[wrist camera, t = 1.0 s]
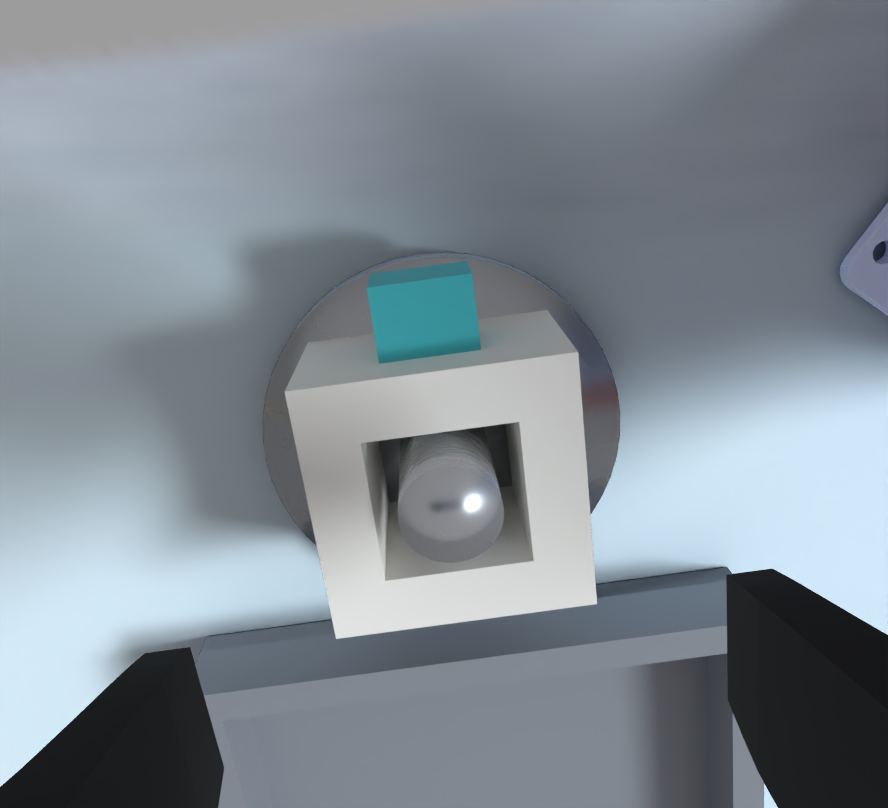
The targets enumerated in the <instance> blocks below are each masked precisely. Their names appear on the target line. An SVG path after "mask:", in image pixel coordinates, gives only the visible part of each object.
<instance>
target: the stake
mask: <svg viewBox="0 0 888 808" xmlns="http://www.w3.org/2000/svg"><path fill="white" fill-rule="evenodd" d="M460 261H467V263H468V265H469V267H470V270H471V272H472V278H473V286H474V294H475V303H476V311H477V319H483V318H491V317H498V316H506V315H513V314H520V313H528V312H535V311H542V310H547V311H548V312H549V313H550V315H551V316H552V317H553V319H554V320H555V321H556V323H557V324H558V325H559V327H560V328H561V329H562V331H563V332H564V333H565V335H566V336H567V337H568V339H569V340H570V342H571V343H572V344H573V346H574V347H575V348H576V350H577V351H578V355H579V369H580V382H581V395H582V409H583V422H584V435H585V449H586V462H587V475H588V489H589V502H590V515H591V513H592V511H593V510H594V508H595V507H596V505H597V503H598V502H599V500H600V498H601V497H602V495H603V492H604V490H605V488H606V486H607V483H608V481H609V479H610V477H611V473H612V470H613V466H614V463H615V460H616V456H617V450H618V443H619V436H620V409H619V401H618V394H617V389H616V385H615V382H614V378H613V374H612V371H611V368H610V366H609V364H608V361H607V359H606V357H605V354H604V352H603V350H602V348H601V347H600V345H599V343H598V342H597V340H596V338H595V337H594V335H593V334H592V332H591V330H590V329H589V328H588V327H587V326H586V324H585V323H584V322H583V321H582V320H581V318H580V317H579V316H578V315H577V314H576V312H575V311H574V310H573V309H572V308H571V307H570V306H569V304H567V303H566V302H565V301H564V300H563V299H562V298H561V297H560V296H559V295H558V294H556V293H555V292H554V291H553V290H552V289H551V288H549V287H548V286H546V285H545V284H543V283H542V282H540V281H539V280H537V279H536V278H534V277H533V276H531V275H529V274H527V273H525V272H523V271H521V270H519V269H517V268H515V267H513V266H511V265H508V264H505V263H502V262H499V261H496V260H493V259H490V258H485V257H480V256H475V255H470V254H463V253H447V252H438V253H423V254H415V255H410V256H405V257H400V258H395V259H392V260H389V261H386V262H383V263H380V264H378V265H375V266H372V267H370V268H368V269H366V270H364V271H362V272H360V273H358V274H356V275H354V276H352V277H350V278H348V279H347V280H345V281H344V282H343V283H341V284H340V285H338V286H337V287H335V288H334V289H332V290H331V291H330V292H329V293H328V294H326V295H325V296H324V297H323V298H322V299H321V300H320V301H319V302H318V303H317V304H315V305H314V306H313V307H312V309H311V310H310V311H309V312H308V313H307V315H306V316H305V317H304V318H303V319H302V321H301V322H300V323H299V324H298V326H297V327H296V329H295V331H294V332H293V334H292V335H291V337H290V339H289V340H288V342H287V343H286V345H285V347H284V349H283V350H282V352H281V354H280V357H279V359H278V361H277V363H276V366H275V368H274V370H273V372H272V375H271V379H270V382H269V386H268V389H267V393H266V398H265V405H264V413H263V442H264V449H265V455H266V461H267V465H268V468H269V472H270V475H271V478H272V482H273V484H274V486H275V488H276V490H277V493H278V495H279V497H280V499H281V501H282V503H283V505H284V506H285V508H286V509H287V511H288V513H289V514H290V516H291V517H292V519H293V520H294V521H295V523H296V524H297V525H298V526H299V527H300V529H301V530H302V531H303V532H304V533H305V535H306V536H307V537H308V538H309V539H310V540H311V541H313V542H314V543H315V544H316V540H315V536H314V531H313V526H312V521H311V516H310V512H309V507H308V502H307V497H306V493H305V488H304V483H303V478H302V473H301V469H300V464H299V459H298V454H297V449H296V445H295V440H294V435H293V430H292V425H291V421H290V416H289V411H288V406H287V401H286V397H285V390H286V388H287V386H288V383H289V381H290V379H291V377H292V375H293V373H294V371H295V369H296V367H297V365H298V362H299V360H300V358H301V356H302V354H303V352H304V350H305V348H306V346H307V344H308V342H315V341H322V340H329V339H337V338H344V337H351V336H359V335H366V334H373V333H374V331H373V325H372V318H371V312H370V306H369V300H368V294H367V284H368V280H369V277H370V274H372V273H380V272H387V271H394V270H402V269H409V268H416V267H424V266H431V265H438V264H446V263H453V262H460ZM379 444H380V450H381V455H382V461H383V467H384V473H385V479H386V485H387V491H388V497H389V502H396V501H398V524H399V528H400V531H401V533H402V536H403V537H404V539H405V541H406V542H407V543H408V545H409V546H410V547H411V548H412V549H413V550H414V551H416V552H417V553H418V554H420V555H422V556H424V557H426V558H428V559H430V560H434V561H437V562H444V563H455V562H462V561H466V560H469V559H472V558H474V557H476V556H478V555H480V554H482V553H483V552H484V551H486V550H487V549H488V548H489V547H490V546H491V545H492V544H493V543H494V542H495V540H496V539H497V537H498V535H499V534H500V531H501V529H502V526H503V522H504V506H503V502H502V497H501V493H500V489H499V488H500V487H508V486H512V477H511V468H510V459H509V450H508V441H507V432H506V424H500V425H493V426H485V427H478V428H470V429H463V430H456V431H448V432H441V433H433V434H426V435H419V436H411V437H404V438H397V439H389V440H382V441H379Z"/></svg>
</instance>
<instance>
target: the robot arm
mask: <svg viewBox="0 0 888 808" xmlns="http://www.w3.org/2000/svg"><path fill="white" fill-rule="evenodd" d="M882 241H884V243H885V244H886V251H885V253H884V255H883V257H881V258H880V259H879V260H877V261H875V260H874V259H873V250H874V248H875V246H876V245H878V244H879V243H880V242H882ZM840 277H841V281H842V282H843V283H844V285H845V286H846V287H847V288H849V289H850V290H852V291H853V292H854V293H856V294H857V295H859V296H860V297H862V298H863V299H864V300H866V301H867V302H869V303H870V304H871V305H873V306H874V307H876V308H877V309H879V310H880V311H881V312H883V313H884V314H886V315H887V316H888V203H887V204H886V205H885V207H884V208H883V209H882V210H881V212H880V213H879V214H878V216H877V217H876V218H875V219H874V221H873V222H872V223H871V225H870V226H869V227H868V228H867V230H866V231H865V232H864V234H863V235H862V236H861V237H860V239H859V240H858V241H857V243H856V244H855V245H854V246H853V248H852V249H851V250H850V252H849V253H848V254H847V255H846V257H845V258H844V260H843V262H842V264H841V267H840ZM726 588H727V676H728V702H729V704H730V707H731V709H732V712H733V714H734V717H735V719H736V722H737V724H738V726H739V729H740V731H741V734H742V736H743V739H744V741H745V743H746V746H747V748H748V750H749V752H750V755H751V757H752V759H753V762H754V764H755V766H756V768H757V771H758V773H759V774H760V776H761V778H762V780H763V782H764V784H765V785H766V787H767V789H768V791H769V792H770V794H771V796H772V798H773V800H774V801H775V803H776V805H777V807H778V808H888V635H887V634H885V633H883V632H881V631H880V630H878V629H876V628H874V627H873V626H871V625H869V624H868V623H866V622H864V621H862V620H861V619H859V618H857V617H856V616H854V615H852V614H850V613H849V612H847V611H845V610H844V609H842V608H840V607H839V606H837V605H835V604H833V603H832V602H830V601H828V600H827V599H825V598H823V597H822V596H820V595H818V594H816V593H815V592H813V591H811V590H810V589H808V588H806V587H804V586H803V585H801V584H799V583H798V582H796V581H794V580H792V579H790V578H789V577H787V576H785V575H783V574H781V573H779V572H777V571H776V570H774V569H767V570H759V571H752V572H744V573H737V574H730V575H726ZM223 773H224V765H223V761H222V758H221V754H220V751H219V747H218V744H217V740H216V737H215V733H214V730H213V726H212V723H211V719H210V716H209V712H208V709H207V705H206V701H205V698H204V694H203V691H202V687H201V684H200V680H199V677H198V673H197V670H196V666H195V663H194V659H193V656H192V652H191V649H190V647H188V648H181V649H174V650H166V651H159V652H151V653H145V654H144V655H143V656H141V657H140V658H139V659H138V660H137V661H135V662H134V663H133V664H132V665H131V666H130V667H129V668H128V669H126V670H125V671H124V672H123V673H122V674H121V675H120V676H119V677H118V678H117V679H116V680H115V681H113V682H112V683H111V684H110V685H109V686H108V687H107V688H106V689H105V690H104V691H103V692H102V693H101V694H100V695H99V696H98V697H97V698H96V699H95V700H94V701H92V702H91V703H90V704H89V705H88V706H87V707H86V708H85V709H84V710H83V711H82V712H81V713H80V714H79V715H78V716H77V717H76V718H75V719H74V720H73V721H72V722H70V723H69V724H68V725H67V726H66V727H65V728H64V729H63V730H62V731H61V732H60V733H59V734H58V735H57V736H56V737H55V738H54V739H52V740H51V741H50V742H49V743H48V744H47V745H46V746H45V747H44V748H43V749H42V750H41V751H40V752H39V753H38V754H37V755H35V756H34V757H33V758H32V759H31V760H30V761H29V762H28V763H27V764H26V765H25V766H24V767H23V768H22V769H20V770H19V771H18V772H17V773H16V774H15V775H14V776H12V777H11V778H10V779H9V780H8V781H7V782H6V783H4V784H3V785H2V786H1V787H0V808H218V806H219V799H220V793H221V786H222V780H223Z"/></svg>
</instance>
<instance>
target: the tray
mask: <svg viewBox="0 0 888 808" xmlns="http://www.w3.org/2000/svg"><path fill="white" fill-rule="evenodd" d="M730 574H732V573H731V572H730V570H729V569H728V568H727V567H724V568H717V569H710V570H702V571H695V572H687V573H680V574H672V575H665V576H657V577H650V578H642V579H635V580H628V581H620V582H613V583H605V584H598V585H596V595H597V604H594V605H586V606H579V607H571V608H564V609H556V610H549V611H541V612H534V613H526V614H519V615H512V616H504V617H497V618H489V619H482V620H474V621H467V622H459V623H452V624H444V625H437V626H429V627H422V628H414V629H407V630H400V631H392V632H385V633H377V634H370V635H362V636H355V637H347V638H340V639H336V636H335V632H334V627H333V622H332V620H329V621H322V622H314V623H307V624H300V625H292V626H285V627H277V628H270V629H262V630H255V631H247V632H240V633H232V634H225V635H217V636H210V637H206V640H205V642H204V645H203V647H202V650H201V652H200V654H199V657H198V659H197V662H196V664H195V666H196V670H197V673H198V677H199V680H200V684H201V687H202V691H203V694H204V698H205V701H206V705H207V709H208V712H209V716H210V719H211V723H212V726H213V730H214V733H215V737H216V740H217V744H218V747H219V751H220V754H221V758H222V761H223V765H224V773H223V780H222V786H221V793H220V799H219V806H218V808H764V782H763V780H762V778H761V776H760V774H759V773H758V771H757V768H756V766H755V764H754V762H753V759H752V757H751V755H750V752H749V750H748V748H747V746H746V743H745V741H744V739H743V736H742V734H741V731H740V729H739V726H738V724H737V722H736V719H735V717H734V714H733V712H732V709H731V707H730V704H729V702H728V676H727V588H726V575H730Z"/></svg>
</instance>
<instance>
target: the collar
mask: <svg viewBox="0 0 888 808" xmlns="http://www.w3.org/2000/svg"><path fill="white" fill-rule="evenodd" d="M367 294H368V300H369V306H370V312H371V318H372V325H373V331H374V333H373V334H366V335H359V336H351V337H344V338H337V339H329V340H322V341H315V342H308V344H307V346H306V348H305V350H304V352H303V354H302V356H301V358H300V360H299V362H298V365H297V367H296V369H295V371H294V373H293V375H292V377H291V379H290V381H289V383H288V386H287V388H286V390H285V397H286V401H287V406H288V411H289V416H290V421H291V425H292V430H293V435H294V440H295V445H296V449H297V454H298V459H299V464H300V469H301V473H302V478H303V483H304V488H305V493H306V497H307V502H308V507H309V512H310V516H311V521H312V526H313V531H314V536H315V540H316V545H317V550H318V555H319V560H320V564H321V569H322V574H323V579H324V584H325V588H326V593H327V598H328V603H329V608H330V612H331V617H332V622H333V627H334V632H335V636H336V639H340V638H347V637H355V636H362V635H370V634H377V633H385V632H392V631H400V630H407V629H414V628H422V627H429V626H437V625H444V624H452V623H459V622H467V621H474V620H482V619H489V618H497V617H504V616H512V615H519V614H526V613H534V612H541V611H549V610H556V609H564V608H571V607H579V606H586V605H594V604H597V595H596V582H595V568H594V555H593V542H592V528H591V515H590V502H589V489H588V475H587V462H586V449H585V435H584V422H583V409H582V395H581V382H580V369H579V355H578V351H577V350H576V348H575V347H574V346H573V344H572V343H571V342H570V340H569V339H568V337H567V336H566V335H565V333H564V332H563V331H562V329H561V328H560V327H559V325H558V324H557V323H556V321H555V320H554V319H553V317H552V316H551V315H550V313H549V312H548V311H547V310H542V311H535V312H528V313H520V314H513V315H506V316H498V317H491V318H483V319H477V311H476V303H475V294H474V286H473V278H472V272H471V270H470V267H469V265H468V263H467V261H460V262H453V263H446V264H438V265H431V266H424V267H416V268H409V269H402V270H394V271H387V272H380V273H372V274H370V277H369V280H368V284H367ZM500 424H506V432H507V441H508V450H509V459H510V468H511V477H512V486H508V487H500V488H499V489H500V493H501V497H502V502H503V506H504V522H503V526H502V529H501V531H500V534H499V535H498V537H497V539H496V540H495V542H494V543H493V544H492V545H491V546H490V547H489V548H488V549H487V550H486V551H484V552H483V553H482V554H480V555H478V556H476V557H474V558H472V559H469V560H466V561H462V562H455V563H444V562H437V561H434V560H430V559H428V558H426V557H424V556H422V555H420V554H418V553H417V552H416V551H414V550H413V549H412V548H411V547H410V546H409V545H408V543H407V542H406V541H405V539H404V537H403V536H402V533H401V531H400V528H399V524H398V501H396V502H389V497H388V491H387V485H386V479H385V473H384V467H383V461H382V455H381V450H380V444H379V441H382V440H389V439H397V438H404V437H411V436H419V435H426V434H433V433H441V432H448V431H456V430H463V429H470V428H478V427H485V426H493V425H500Z"/></svg>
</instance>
